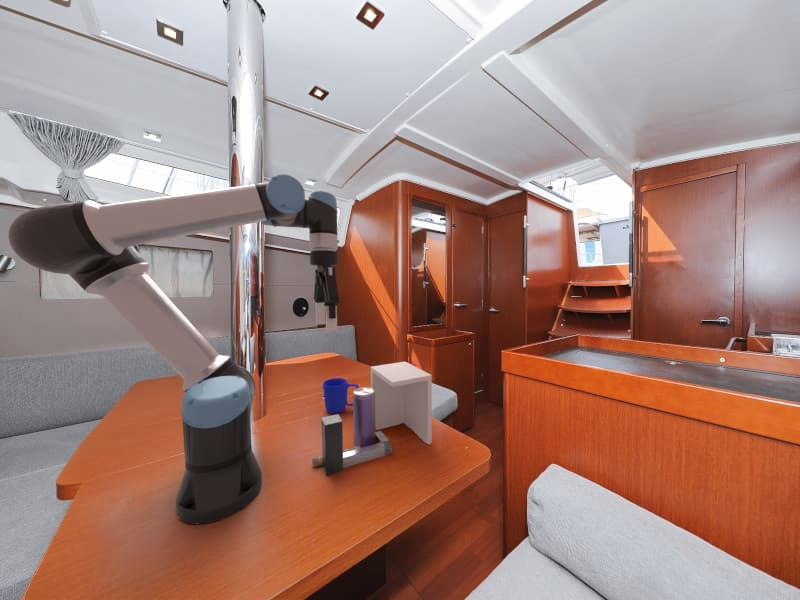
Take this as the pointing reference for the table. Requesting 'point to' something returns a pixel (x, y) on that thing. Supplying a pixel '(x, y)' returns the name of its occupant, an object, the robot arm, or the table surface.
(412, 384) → the corner shelf
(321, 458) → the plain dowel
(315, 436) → the table surface
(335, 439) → the grey angled piece
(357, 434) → the beverage can
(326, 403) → the mug
